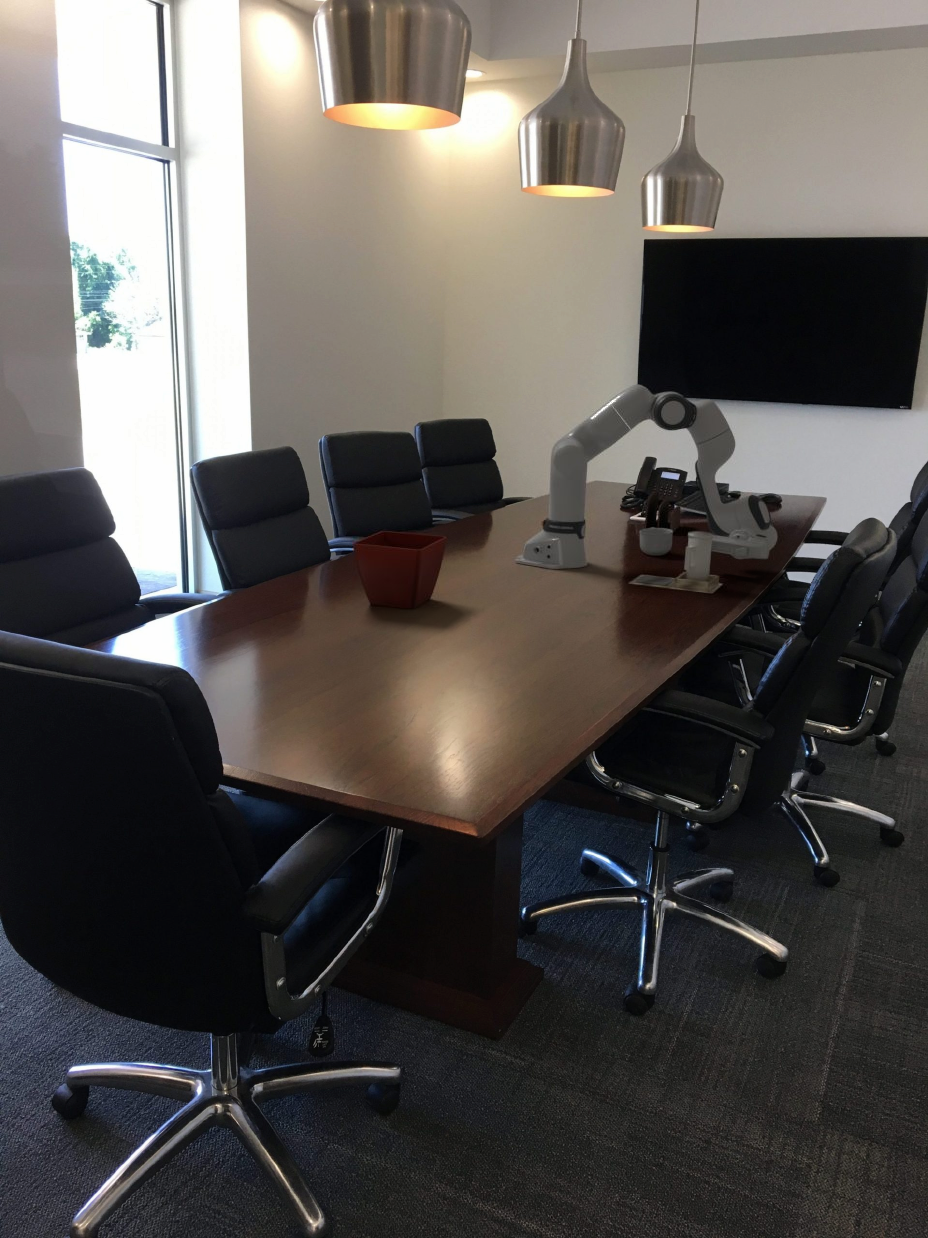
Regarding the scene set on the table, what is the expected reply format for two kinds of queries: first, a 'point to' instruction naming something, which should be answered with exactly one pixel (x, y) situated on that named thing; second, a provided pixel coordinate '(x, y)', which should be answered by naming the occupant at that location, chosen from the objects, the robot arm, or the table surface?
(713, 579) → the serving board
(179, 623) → the table surface
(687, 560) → the tall white canister
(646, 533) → the teacup
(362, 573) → the plant pot
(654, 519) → the letter holder
